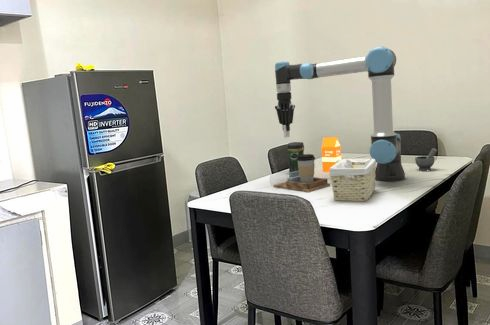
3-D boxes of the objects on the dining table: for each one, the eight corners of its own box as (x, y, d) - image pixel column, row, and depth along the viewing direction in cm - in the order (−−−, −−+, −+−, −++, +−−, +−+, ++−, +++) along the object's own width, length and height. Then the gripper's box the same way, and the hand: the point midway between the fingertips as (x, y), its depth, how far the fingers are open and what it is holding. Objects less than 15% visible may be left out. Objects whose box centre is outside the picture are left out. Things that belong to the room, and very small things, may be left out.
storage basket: (368, 202, 176) (366, 167, 173) (329, 201, 183) (327, 167, 181) (378, 189, 197) (376, 158, 194) (343, 188, 204) (341, 158, 202)
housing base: (330, 186, 212) (329, 178, 211) (308, 192, 202) (308, 184, 201) (295, 181, 230) (294, 174, 230) (273, 187, 220) (273, 180, 220)
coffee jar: (307, 171, 256) (305, 141, 253) (302, 174, 249) (300, 142, 246) (292, 171, 260) (290, 141, 257) (287, 174, 253) (285, 143, 251)
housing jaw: (306, 181, 220) (305, 170, 219) (291, 185, 213) (291, 173, 212) (302, 180, 223) (301, 169, 222) (287, 184, 216) (286, 173, 215)
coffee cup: (316, 186, 207) (314, 156, 205) (297, 187, 209) (295, 157, 207) (317, 182, 216) (315, 153, 214) (298, 183, 218) (296, 154, 216)
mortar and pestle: (413, 171, 231) (412, 149, 230) (417, 168, 239) (416, 147, 237) (435, 171, 225) (435, 149, 223) (439, 168, 233) (438, 147, 231)
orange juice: (336, 172, 247) (334, 137, 244) (322, 171, 253) (320, 138, 250) (341, 169, 253) (340, 136, 250) (328, 169, 259) (326, 136, 256)
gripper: (270, 93, 225) (273, 137, 228) (287, 91, 215) (290, 138, 218) (280, 92, 229) (283, 136, 233) (297, 91, 219) (300, 136, 223)
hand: (286, 137), depth 226 cm, fingers closed
